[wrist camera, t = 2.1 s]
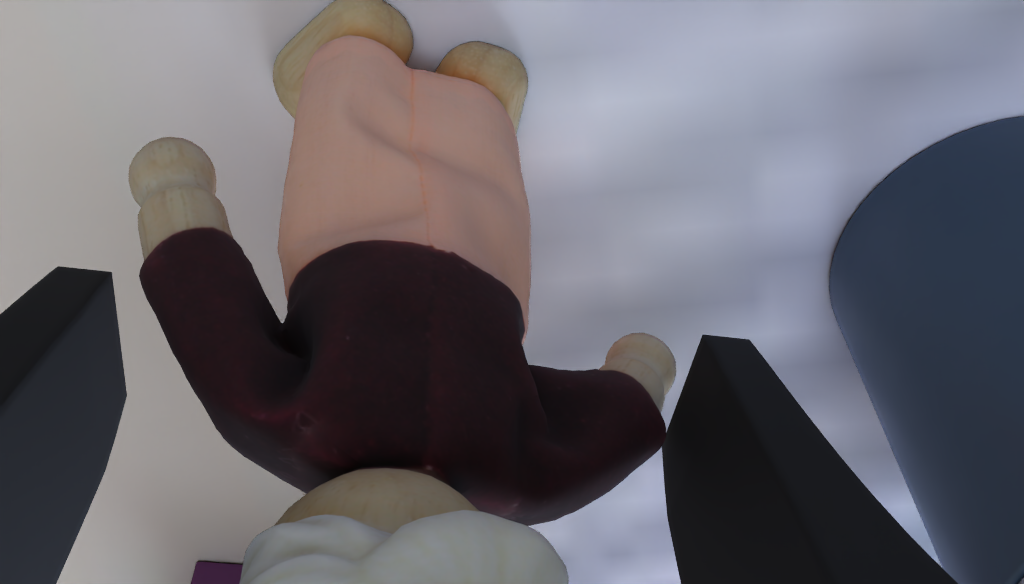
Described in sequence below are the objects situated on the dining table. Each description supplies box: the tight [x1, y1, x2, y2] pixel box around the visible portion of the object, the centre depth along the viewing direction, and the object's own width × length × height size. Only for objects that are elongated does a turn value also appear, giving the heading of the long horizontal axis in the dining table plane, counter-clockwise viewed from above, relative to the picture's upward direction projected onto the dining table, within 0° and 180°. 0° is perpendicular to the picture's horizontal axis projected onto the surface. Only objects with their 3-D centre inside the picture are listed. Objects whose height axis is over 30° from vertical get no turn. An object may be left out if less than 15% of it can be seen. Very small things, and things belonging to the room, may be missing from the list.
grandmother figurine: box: [129, 0, 676, 584], centre depth 13 cm, size 8×4×13 cm, turn 74°
